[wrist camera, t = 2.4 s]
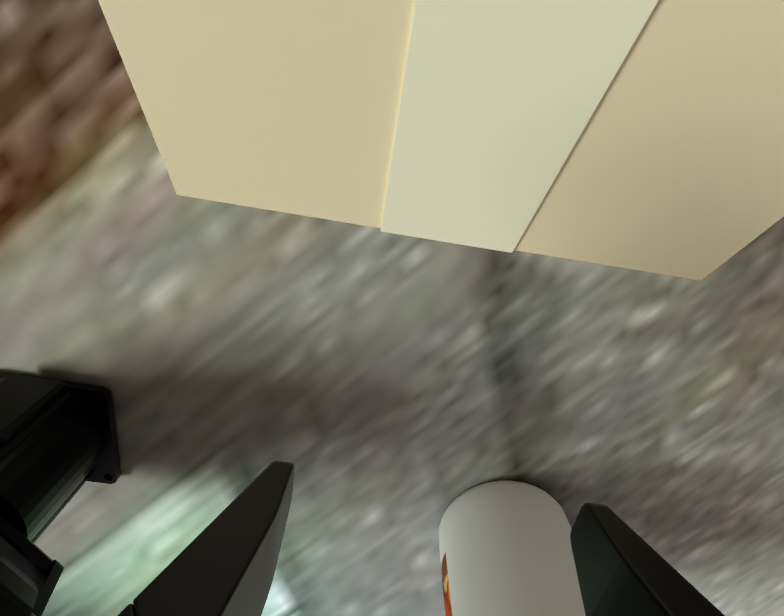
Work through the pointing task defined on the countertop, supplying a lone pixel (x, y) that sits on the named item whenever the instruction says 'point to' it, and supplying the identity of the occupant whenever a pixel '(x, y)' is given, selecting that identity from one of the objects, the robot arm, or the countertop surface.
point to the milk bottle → (508, 554)
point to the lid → (477, 118)
